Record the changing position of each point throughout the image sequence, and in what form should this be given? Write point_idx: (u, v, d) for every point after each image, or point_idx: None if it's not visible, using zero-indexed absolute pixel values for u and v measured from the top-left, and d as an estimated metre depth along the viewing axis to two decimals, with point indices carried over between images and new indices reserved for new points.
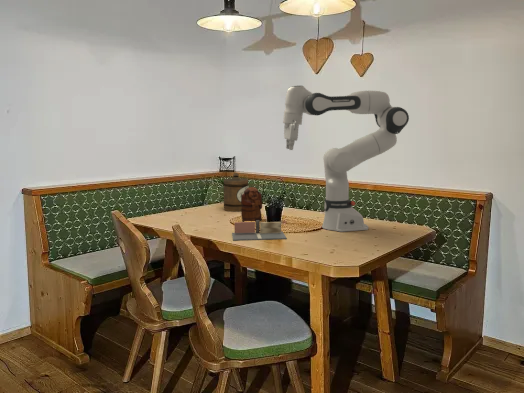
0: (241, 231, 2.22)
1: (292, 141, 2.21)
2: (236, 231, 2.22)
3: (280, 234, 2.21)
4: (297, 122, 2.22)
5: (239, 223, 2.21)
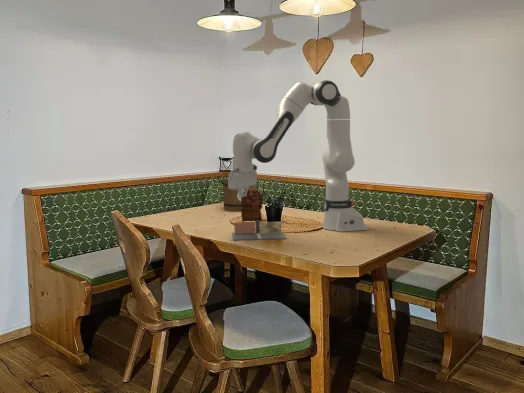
0: (241, 231, 2.22)
1: (239, 189, 2.21)
2: (236, 231, 2.22)
3: (280, 234, 2.21)
4: (241, 170, 2.18)
5: (239, 223, 2.21)
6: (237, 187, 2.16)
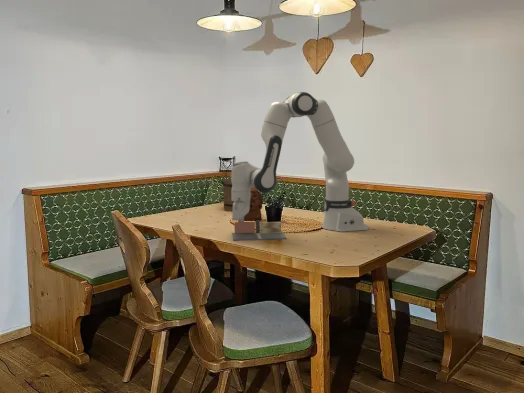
0: (241, 231, 2.22)
1: None
2: (236, 231, 2.22)
3: (280, 234, 2.21)
4: (242, 200, 2.18)
5: (239, 223, 2.21)
6: (241, 217, 2.16)
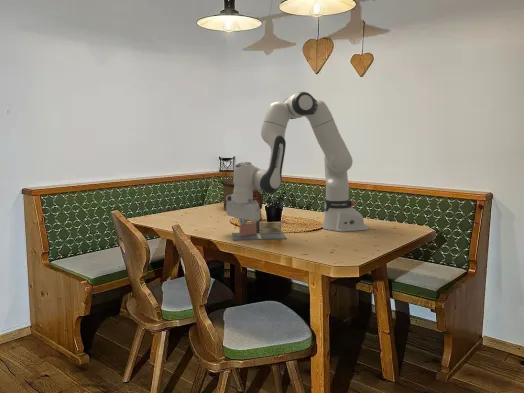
0: (246, 233, 2.18)
1: (245, 220, 2.17)
2: (242, 234, 2.16)
3: (280, 234, 2.21)
4: None
5: (244, 225, 2.17)
6: None
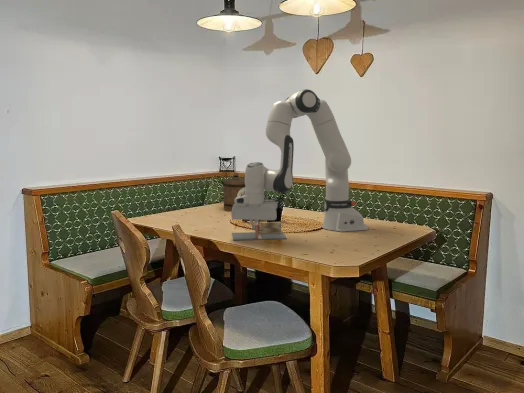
0: None
1: (257, 220, 2.14)
2: (257, 235, 2.13)
3: (280, 234, 2.21)
4: None
5: (257, 226, 2.14)
6: None
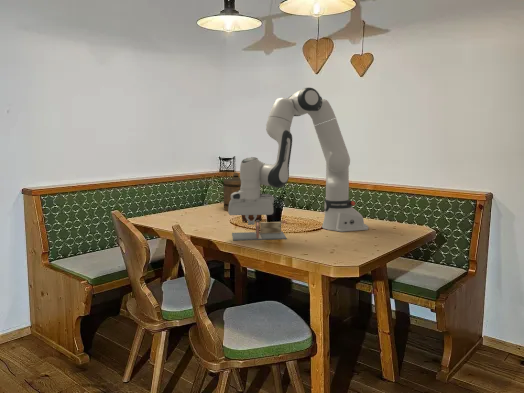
0: None
1: (256, 215, 2.14)
2: (258, 235, 2.13)
3: (280, 234, 2.21)
4: None
5: (258, 226, 2.14)
6: None
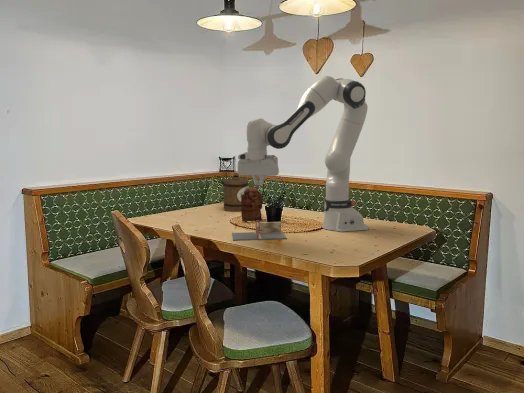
0: None
1: (263, 176, 2.17)
2: (258, 235, 2.13)
3: (280, 234, 2.21)
4: None
5: (258, 226, 2.14)
6: None
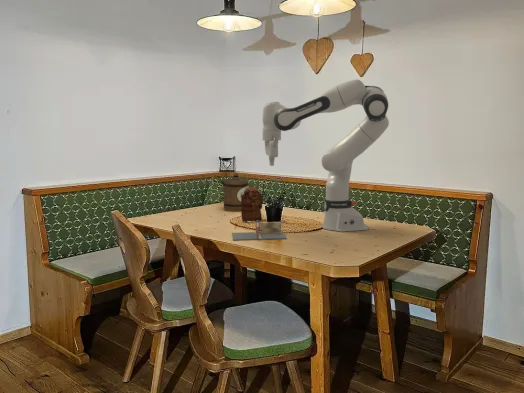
0: None
1: (272, 157, 2.27)
2: (258, 235, 2.13)
3: (280, 234, 2.21)
4: (276, 138, 2.24)
5: (258, 226, 2.14)
6: None
